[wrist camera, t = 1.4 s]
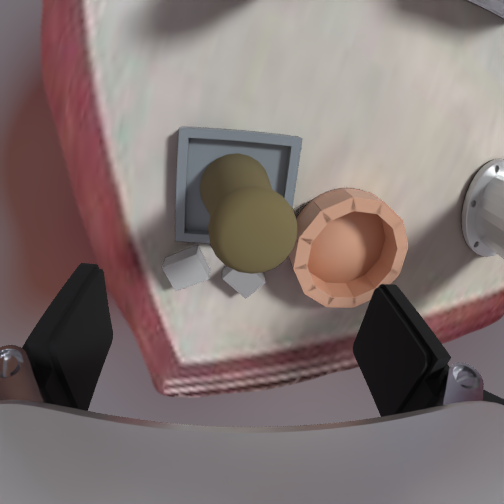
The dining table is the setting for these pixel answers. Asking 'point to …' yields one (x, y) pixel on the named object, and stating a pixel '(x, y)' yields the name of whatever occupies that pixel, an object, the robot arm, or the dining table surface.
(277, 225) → the olive pestle
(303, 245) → the bowl
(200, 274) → the light grey block
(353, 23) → the dining table surface
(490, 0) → the ink cartridge box
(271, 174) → the tray
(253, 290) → the grey block
